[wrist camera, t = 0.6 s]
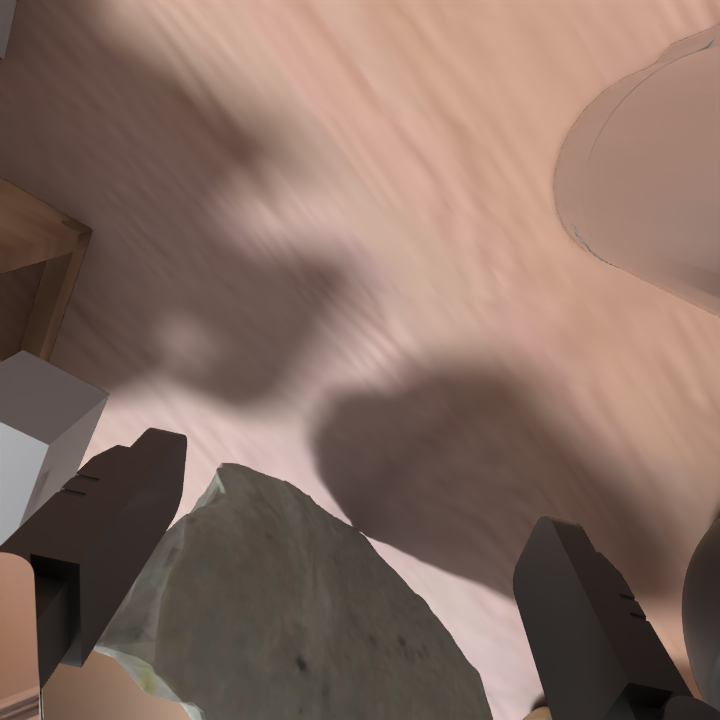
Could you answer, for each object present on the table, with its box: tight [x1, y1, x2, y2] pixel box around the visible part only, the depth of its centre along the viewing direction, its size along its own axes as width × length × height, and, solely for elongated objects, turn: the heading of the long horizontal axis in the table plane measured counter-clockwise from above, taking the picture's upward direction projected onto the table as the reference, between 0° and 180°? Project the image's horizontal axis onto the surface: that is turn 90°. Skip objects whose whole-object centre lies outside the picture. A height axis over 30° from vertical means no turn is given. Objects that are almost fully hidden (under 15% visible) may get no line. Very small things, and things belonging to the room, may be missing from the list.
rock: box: [93, 463, 493, 720], centre depth 25 cm, size 27×6×20 cm, turn 43°
